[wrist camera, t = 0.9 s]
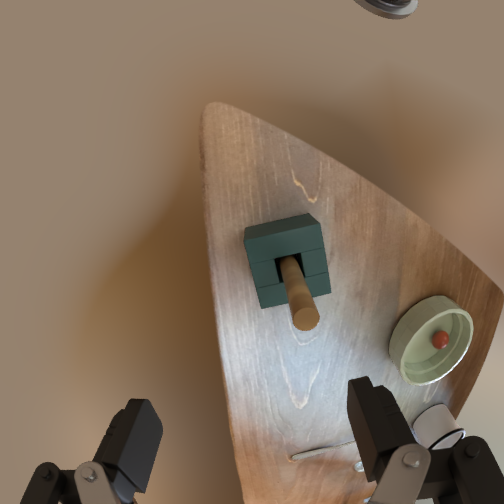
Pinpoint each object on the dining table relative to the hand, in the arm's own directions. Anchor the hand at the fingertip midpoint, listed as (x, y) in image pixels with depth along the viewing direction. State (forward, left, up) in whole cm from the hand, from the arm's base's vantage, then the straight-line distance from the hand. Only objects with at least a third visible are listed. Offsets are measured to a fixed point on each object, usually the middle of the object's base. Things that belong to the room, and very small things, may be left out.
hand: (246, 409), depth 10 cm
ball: (+20, +24, -22) cm, 39 cm away
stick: (+2, +3, -24) cm, 25 cm away
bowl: (+20, +22, -24) cm, 39 cm away
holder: (+2, +3, -24) cm, 25 cm away
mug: (+46, +27, -25) cm, 59 cm away
